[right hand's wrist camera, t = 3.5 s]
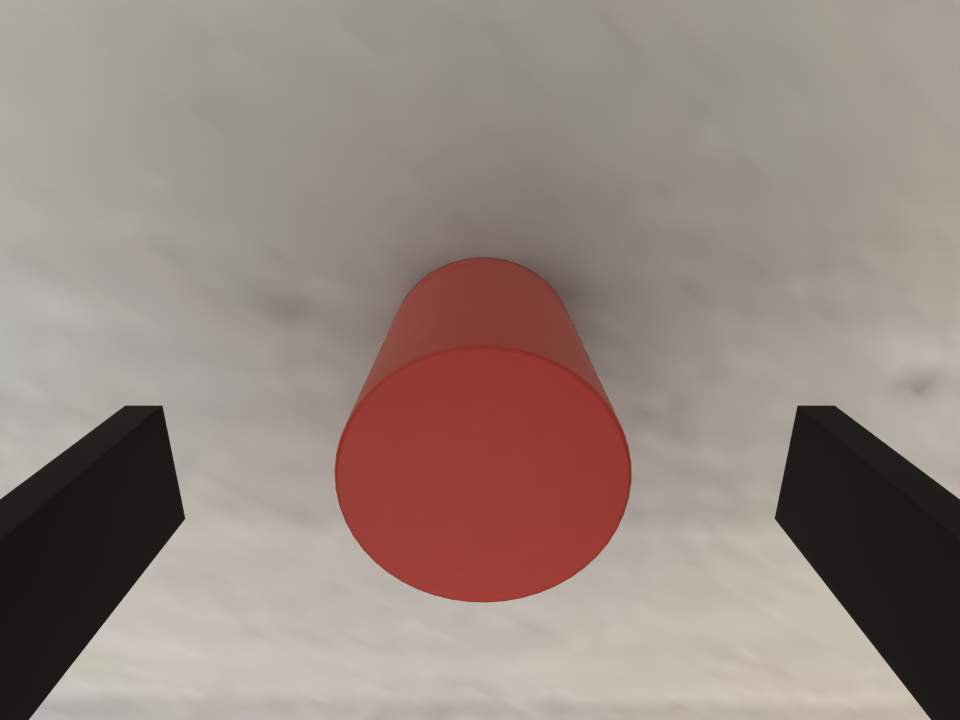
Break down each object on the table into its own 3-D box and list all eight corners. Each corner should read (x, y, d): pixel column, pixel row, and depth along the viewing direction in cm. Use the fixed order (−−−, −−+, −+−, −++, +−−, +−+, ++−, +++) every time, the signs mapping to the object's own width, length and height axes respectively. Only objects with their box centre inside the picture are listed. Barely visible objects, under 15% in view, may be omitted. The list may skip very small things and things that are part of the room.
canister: (362, 381, 19) (288, 537, 12) (442, 222, 17) (413, 290, 10) (516, 454, 20) (537, 641, 13) (607, 311, 18) (693, 432, 11)
